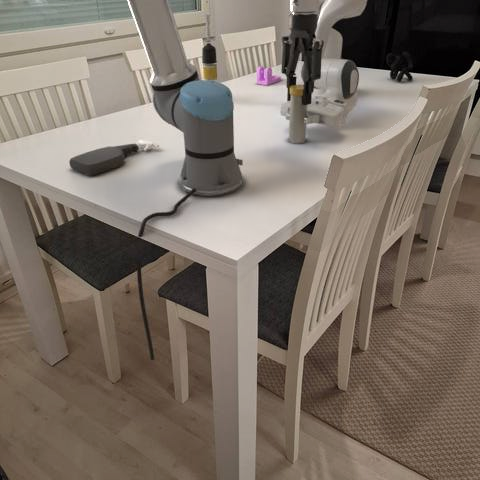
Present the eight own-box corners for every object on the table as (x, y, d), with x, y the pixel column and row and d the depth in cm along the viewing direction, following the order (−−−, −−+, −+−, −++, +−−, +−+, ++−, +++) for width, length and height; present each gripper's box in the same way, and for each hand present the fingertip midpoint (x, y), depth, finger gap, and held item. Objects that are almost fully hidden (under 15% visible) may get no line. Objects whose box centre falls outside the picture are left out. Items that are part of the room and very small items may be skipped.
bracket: (267, 85, 196) (267, 68, 192) (256, 83, 199) (256, 67, 195) (282, 79, 205) (283, 63, 201) (272, 78, 208) (273, 62, 204)
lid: (309, 91, 130) (309, 84, 129) (309, 96, 125) (309, 89, 124) (289, 90, 131) (290, 84, 130) (289, 95, 126) (289, 89, 125)
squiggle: (400, 92, 202) (376, 71, 205) (417, 76, 202) (392, 56, 205) (405, 81, 191) (380, 59, 194) (423, 64, 191) (397, 42, 194)
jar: (305, 138, 137) (308, 86, 129) (305, 143, 133) (308, 90, 125) (289, 137, 138) (291, 86, 130) (288, 143, 134) (290, 90, 126)
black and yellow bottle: (220, 99, 177) (217, 15, 161) (206, 100, 176) (202, 16, 160) (215, 96, 182) (212, 14, 166) (202, 97, 180) (197, 14, 164)
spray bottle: (67, 168, 120) (139, 144, 136) (91, 178, 114) (163, 151, 130) (65, 157, 118) (137, 134, 134) (89, 167, 112) (162, 142, 128)
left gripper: (269, 11, 121) (267, 98, 134) (320, 16, 109) (313, 111, 121) (288, 9, 125) (285, 94, 138) (340, 14, 113) (332, 106, 125)
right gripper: (296, 93, 144) (269, 102, 136) (352, 104, 133) (326, 114, 124) (295, 113, 148) (268, 122, 139) (349, 125, 136) (324, 136, 127)
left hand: (299, 102), depth 129 cm, fingers closed on lid, 6 cm apart
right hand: (296, 119), depth 131 cm, fingers closed on jar, 5 cm apart
